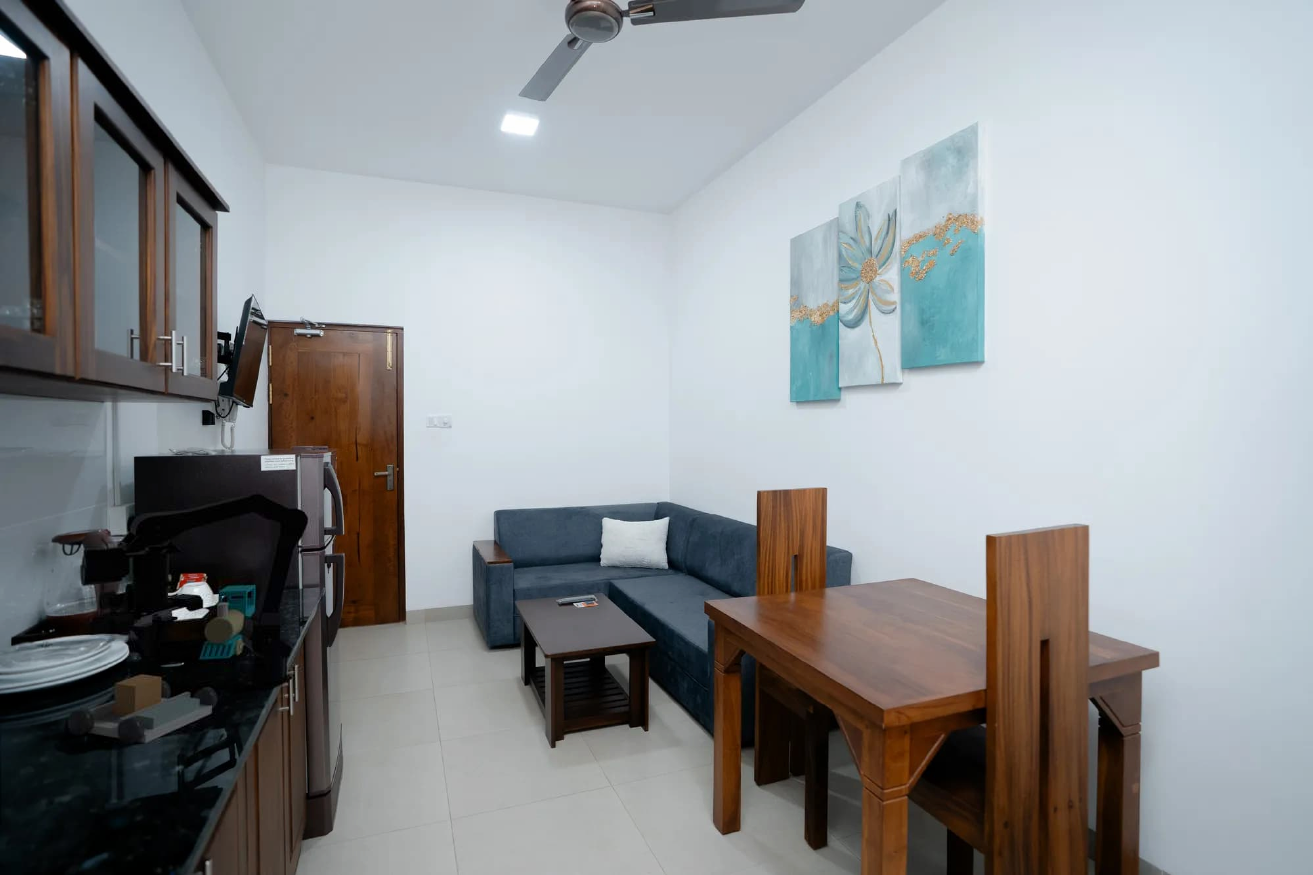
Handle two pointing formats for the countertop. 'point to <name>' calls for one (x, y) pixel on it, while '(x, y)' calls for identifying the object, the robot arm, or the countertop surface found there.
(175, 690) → the countertop surface
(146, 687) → the brown cardboard cube
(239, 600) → the toy train
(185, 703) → the chassis
